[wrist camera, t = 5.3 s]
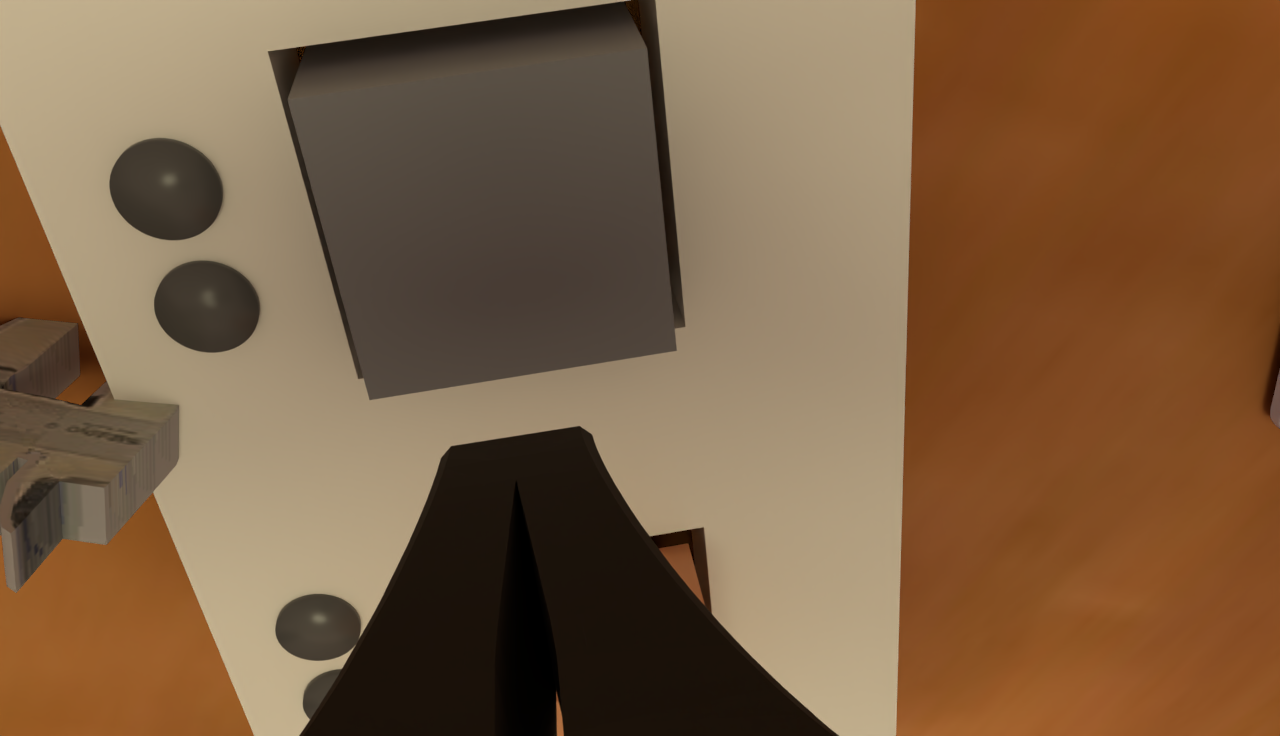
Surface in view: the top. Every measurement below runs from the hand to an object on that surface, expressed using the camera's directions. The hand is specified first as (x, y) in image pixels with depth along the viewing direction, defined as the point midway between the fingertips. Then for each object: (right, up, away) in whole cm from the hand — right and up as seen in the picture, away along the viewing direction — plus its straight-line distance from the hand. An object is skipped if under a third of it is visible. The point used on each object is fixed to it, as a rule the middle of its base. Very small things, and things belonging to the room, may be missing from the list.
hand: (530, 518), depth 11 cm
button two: (-1, +5, +7) cm, 8 cm away
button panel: (0, -3, +12) cm, 12 cm away
